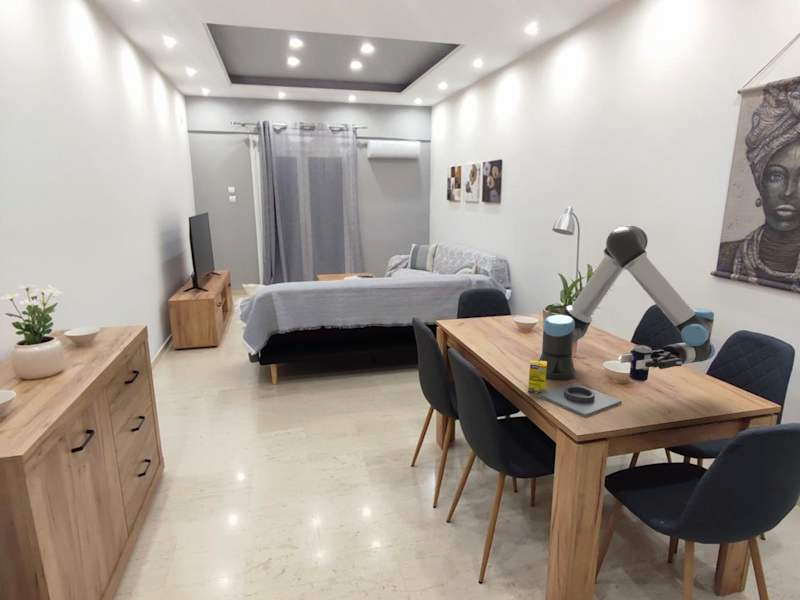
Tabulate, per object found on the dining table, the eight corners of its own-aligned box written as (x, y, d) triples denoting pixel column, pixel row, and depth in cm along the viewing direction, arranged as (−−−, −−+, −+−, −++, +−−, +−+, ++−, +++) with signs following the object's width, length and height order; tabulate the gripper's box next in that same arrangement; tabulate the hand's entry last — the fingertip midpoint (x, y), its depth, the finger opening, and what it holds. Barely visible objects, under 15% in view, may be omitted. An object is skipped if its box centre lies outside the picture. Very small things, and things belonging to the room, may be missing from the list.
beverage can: (641, 376, 166) (646, 344, 163) (650, 383, 161) (655, 349, 158) (625, 376, 166) (630, 344, 163) (634, 383, 160) (638, 349, 158)
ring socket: (537, 396, 170) (538, 388, 169) (573, 385, 181) (574, 377, 180) (585, 417, 154) (585, 408, 153) (621, 403, 164) (622, 395, 163)
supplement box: (527, 392, 174) (529, 364, 171) (528, 386, 179) (530, 359, 177) (544, 394, 172) (546, 365, 170) (545, 388, 177) (547, 360, 175)
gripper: (700, 373, 161) (651, 382, 152) (653, 356, 178) (606, 363, 169) (703, 352, 159) (654, 360, 151) (656, 337, 176) (609, 343, 167)
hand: (629, 362), depth 160 cm, fingers closed on beverage can, 6 cm apart
